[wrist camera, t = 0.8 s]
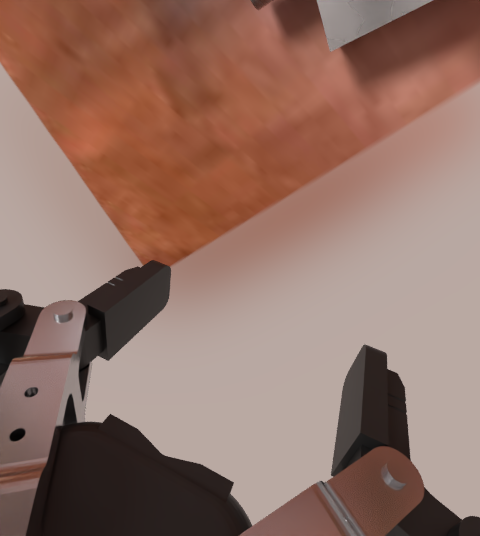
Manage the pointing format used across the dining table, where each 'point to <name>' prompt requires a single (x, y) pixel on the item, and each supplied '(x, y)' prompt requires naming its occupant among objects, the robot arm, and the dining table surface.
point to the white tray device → (356, 16)
